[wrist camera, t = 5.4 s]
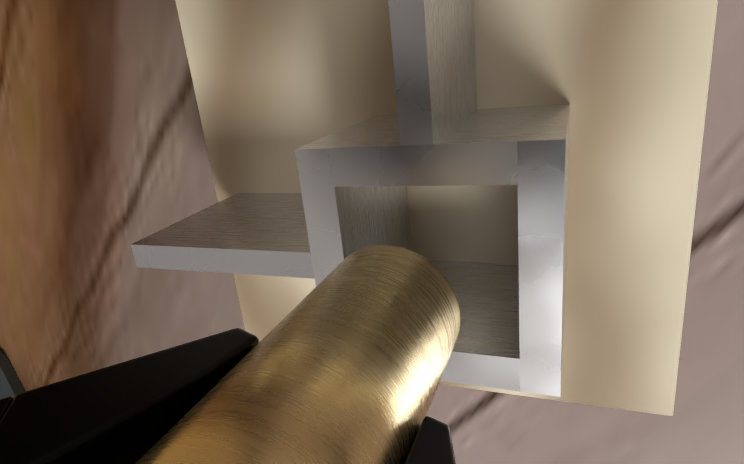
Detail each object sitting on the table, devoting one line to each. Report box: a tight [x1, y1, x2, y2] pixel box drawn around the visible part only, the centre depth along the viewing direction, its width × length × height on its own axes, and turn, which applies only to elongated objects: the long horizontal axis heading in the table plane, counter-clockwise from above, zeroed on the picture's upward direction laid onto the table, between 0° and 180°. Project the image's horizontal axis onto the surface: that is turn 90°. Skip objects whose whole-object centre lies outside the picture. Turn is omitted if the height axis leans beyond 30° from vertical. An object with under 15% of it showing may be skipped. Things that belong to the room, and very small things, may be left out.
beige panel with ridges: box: [131, 0, 718, 416], centre depth 17 cm, size 18×20×8 cm
